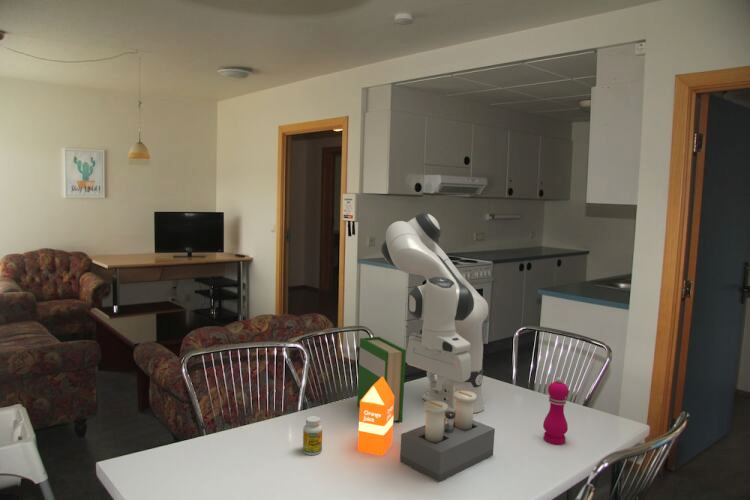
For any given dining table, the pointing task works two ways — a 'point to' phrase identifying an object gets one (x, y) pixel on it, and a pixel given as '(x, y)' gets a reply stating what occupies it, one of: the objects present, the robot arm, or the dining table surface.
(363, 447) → the orange juice
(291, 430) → the dining table surface
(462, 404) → the cream lidded cup
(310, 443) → the supplement bottle
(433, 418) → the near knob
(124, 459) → the dining table surface
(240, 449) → the dining table surface
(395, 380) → the hardback book
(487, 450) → the mount
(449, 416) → the small glass shaker
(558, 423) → the pepper mill
